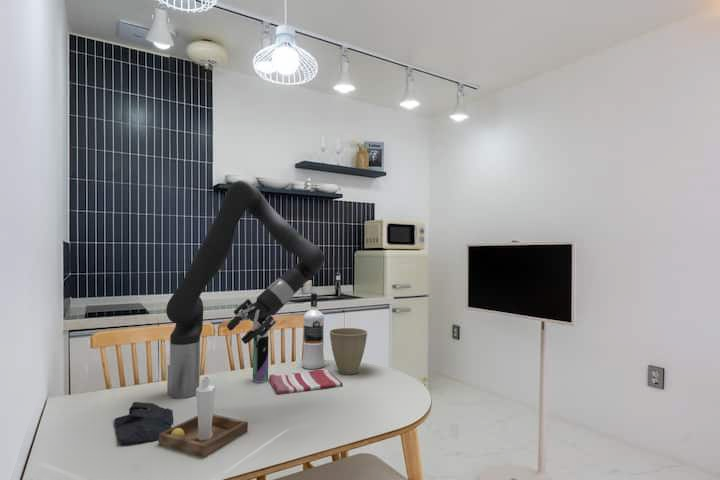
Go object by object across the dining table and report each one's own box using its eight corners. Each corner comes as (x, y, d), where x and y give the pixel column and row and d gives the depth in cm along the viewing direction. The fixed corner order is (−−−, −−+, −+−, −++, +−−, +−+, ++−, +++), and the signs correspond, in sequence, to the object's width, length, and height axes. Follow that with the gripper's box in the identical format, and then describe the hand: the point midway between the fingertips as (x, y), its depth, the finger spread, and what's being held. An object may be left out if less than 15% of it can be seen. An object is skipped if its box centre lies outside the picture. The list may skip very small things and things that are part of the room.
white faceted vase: (198, 433, 109) (199, 375, 110) (215, 432, 110) (216, 375, 110) (192, 441, 105) (193, 380, 105) (210, 440, 105) (211, 380, 105)
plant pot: (368, 377, 159) (369, 335, 159) (329, 378, 158) (329, 335, 158) (365, 366, 174) (365, 327, 174) (329, 366, 173) (329, 327, 173)
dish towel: (267, 381, 155) (268, 374, 155) (328, 374, 164) (328, 367, 164) (276, 396, 139) (276, 388, 139) (343, 388, 148) (343, 380, 148)
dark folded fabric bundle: (107, 454, 100) (108, 434, 100) (115, 419, 120) (115, 403, 120) (177, 441, 107) (178, 422, 107) (173, 410, 127) (173, 394, 127)
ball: (167, 442, 104) (167, 429, 104) (177, 437, 107) (178, 424, 107) (176, 445, 102) (177, 432, 103) (187, 440, 105) (187, 427, 105)
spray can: (264, 383, 151) (264, 327, 151) (250, 382, 152) (250, 327, 152) (270, 378, 156) (271, 324, 156) (256, 377, 157) (257, 324, 157)
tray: (158, 446, 103) (158, 433, 103) (204, 423, 117) (204, 412, 117) (204, 460, 97) (204, 446, 97) (247, 433, 110) (247, 422, 110)
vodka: (322, 362, 178) (323, 291, 178) (326, 369, 169) (326, 294, 169) (300, 364, 176) (301, 292, 176) (303, 370, 167) (303, 294, 167)
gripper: (257, 280, 132) (217, 317, 125) (284, 298, 123) (242, 339, 116) (268, 295, 137) (229, 331, 130) (294, 313, 128) (254, 353, 121)
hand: (235, 335), depth 123 cm, fingers open, 8 cm apart
